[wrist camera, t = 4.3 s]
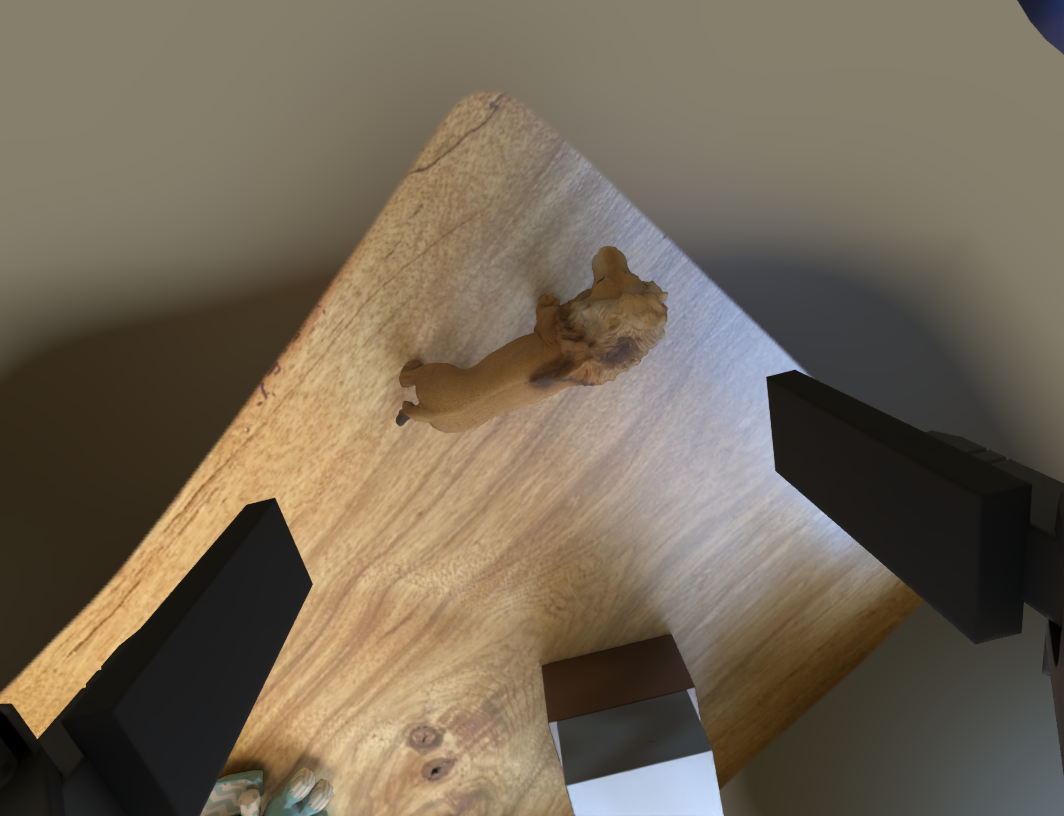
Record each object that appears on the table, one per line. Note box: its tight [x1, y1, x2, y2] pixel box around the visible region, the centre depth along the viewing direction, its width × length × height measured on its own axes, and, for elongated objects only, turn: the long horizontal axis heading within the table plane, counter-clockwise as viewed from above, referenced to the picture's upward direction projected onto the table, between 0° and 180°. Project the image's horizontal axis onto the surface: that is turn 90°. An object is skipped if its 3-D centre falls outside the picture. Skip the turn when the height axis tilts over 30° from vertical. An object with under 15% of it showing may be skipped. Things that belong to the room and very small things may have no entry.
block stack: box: [542, 635, 724, 816], centre depth 35 cm, size 9×11×8 cm
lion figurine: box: [396, 246, 668, 433], centre depth 26 cm, size 15×5×9 cm, turn 123°
